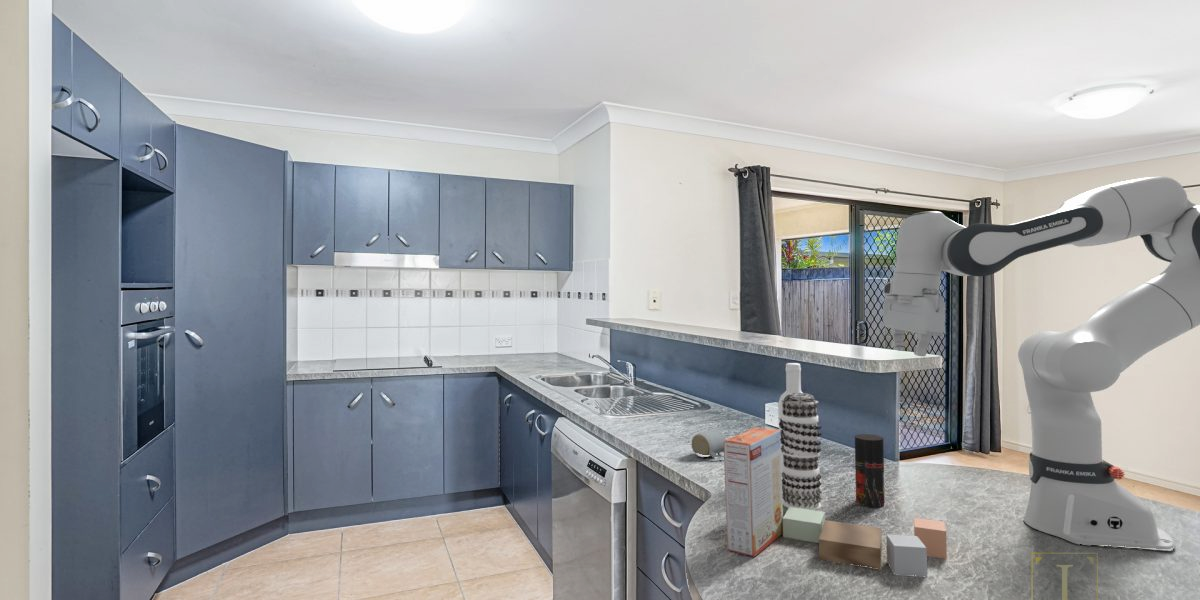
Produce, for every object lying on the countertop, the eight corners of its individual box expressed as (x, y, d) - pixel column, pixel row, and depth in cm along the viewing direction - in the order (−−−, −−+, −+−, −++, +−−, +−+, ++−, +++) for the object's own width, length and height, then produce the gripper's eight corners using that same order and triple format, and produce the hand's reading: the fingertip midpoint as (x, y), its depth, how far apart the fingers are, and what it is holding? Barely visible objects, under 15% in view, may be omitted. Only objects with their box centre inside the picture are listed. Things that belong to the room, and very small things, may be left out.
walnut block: (881, 549, 112) (881, 528, 112) (880, 571, 103) (880, 548, 103) (825, 540, 116) (824, 520, 116) (819, 561, 107) (818, 539, 107)
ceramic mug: (689, 456, 178) (689, 430, 178) (707, 451, 184) (707, 426, 183) (717, 463, 170) (717, 437, 170) (735, 458, 175) (735, 432, 175)
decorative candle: (772, 505, 135) (770, 395, 135) (792, 494, 142) (790, 390, 142) (811, 514, 129) (809, 399, 129) (829, 503, 135) (827, 393, 135)
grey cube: (917, 564, 105) (917, 536, 105) (927, 577, 100) (926, 547, 100) (886, 562, 106) (886, 534, 106) (894, 575, 101) (894, 545, 101)
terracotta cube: (944, 548, 111) (944, 521, 111) (946, 559, 106) (946, 531, 106) (914, 543, 113) (914, 517, 113) (915, 554, 109) (914, 526, 109)
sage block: (825, 531, 120) (825, 511, 120) (820, 544, 114) (820, 523, 114) (789, 525, 124) (789, 506, 124) (783, 538, 117) (782, 518, 117)
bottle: (818, 482, 151) (816, 364, 151) (793, 486, 148) (791, 366, 148) (797, 473, 158) (795, 361, 158) (772, 477, 156) (770, 363, 155)
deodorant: (887, 508, 132) (886, 440, 132) (859, 506, 133) (857, 439, 133) (880, 499, 138) (879, 434, 138) (853, 498, 139) (852, 433, 139)
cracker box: (756, 527, 123) (754, 425, 123) (784, 534, 119) (782, 429, 119) (724, 550, 112) (722, 439, 112) (754, 558, 108) (752, 443, 108)
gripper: (957, 290, 116) (950, 361, 116) (908, 288, 136) (902, 348, 137) (924, 288, 116) (917, 358, 117) (880, 286, 136) (874, 346, 137)
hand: (908, 352), depth 127 cm, fingers open, 8 cm apart
